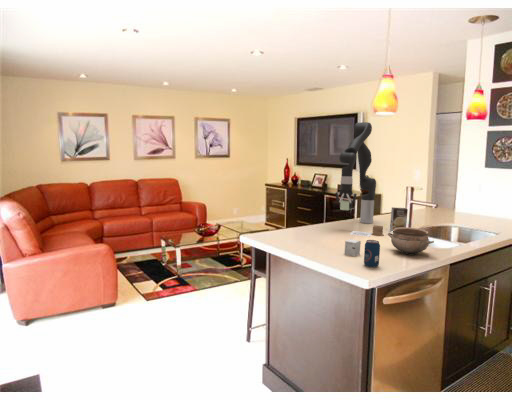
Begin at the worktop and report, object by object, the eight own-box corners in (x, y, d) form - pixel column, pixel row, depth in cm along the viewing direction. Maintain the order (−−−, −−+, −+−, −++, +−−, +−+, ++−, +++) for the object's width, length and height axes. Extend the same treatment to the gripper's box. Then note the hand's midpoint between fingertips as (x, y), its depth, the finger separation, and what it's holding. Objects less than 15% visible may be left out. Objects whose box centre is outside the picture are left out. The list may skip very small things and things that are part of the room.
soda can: (360, 264, 189) (362, 240, 188) (371, 262, 192) (373, 239, 190) (370, 268, 183) (371, 243, 181) (381, 266, 186) (383, 242, 184)
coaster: (371, 233, 258) (371, 232, 258) (384, 234, 254) (384, 234, 254) (370, 235, 250) (370, 235, 250) (383, 237, 247) (383, 236, 247)
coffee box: (391, 232, 260) (393, 208, 258) (389, 230, 267) (391, 207, 265) (406, 233, 260) (407, 209, 257) (403, 231, 266) (405, 207, 264)
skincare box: (344, 254, 207) (344, 240, 206) (349, 252, 211) (350, 238, 210) (354, 256, 203) (355, 242, 202) (360, 254, 207) (360, 240, 206)
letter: (352, 231, 263) (352, 230, 263) (372, 233, 257) (372, 232, 257) (349, 234, 252) (349, 234, 252) (369, 237, 247) (369, 236, 246)
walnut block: (373, 233, 256) (374, 225, 255) (382, 234, 254) (382, 226, 253) (372, 235, 251) (372, 226, 250) (381, 236, 249) (381, 227, 248)
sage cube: (342, 208, 265) (342, 200, 264) (350, 209, 262) (350, 201, 261) (340, 209, 260) (340, 201, 259) (348, 210, 257) (348, 202, 257)
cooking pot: (378, 251, 214) (380, 229, 212) (395, 245, 227) (396, 224, 225) (424, 261, 196) (426, 237, 194) (439, 254, 209) (441, 232, 207)
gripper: (358, 183, 259) (357, 208, 261) (337, 181, 265) (335, 206, 267) (356, 184, 252) (355, 210, 254) (334, 182, 258) (333, 208, 261)
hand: (345, 208), depth 261 cm, fingers closed on sage cube, 5 cm apart
